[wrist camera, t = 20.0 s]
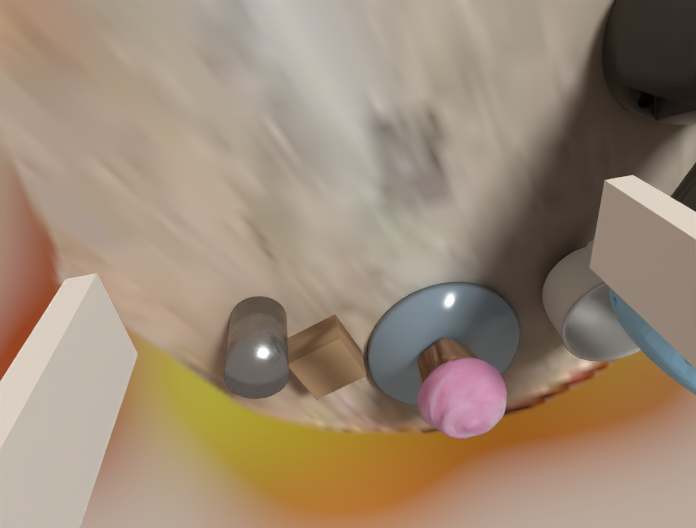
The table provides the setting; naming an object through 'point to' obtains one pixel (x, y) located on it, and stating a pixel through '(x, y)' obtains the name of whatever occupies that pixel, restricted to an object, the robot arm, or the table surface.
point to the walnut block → (325, 357)
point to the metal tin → (257, 348)
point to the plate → (439, 333)
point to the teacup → (584, 310)
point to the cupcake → (459, 390)
